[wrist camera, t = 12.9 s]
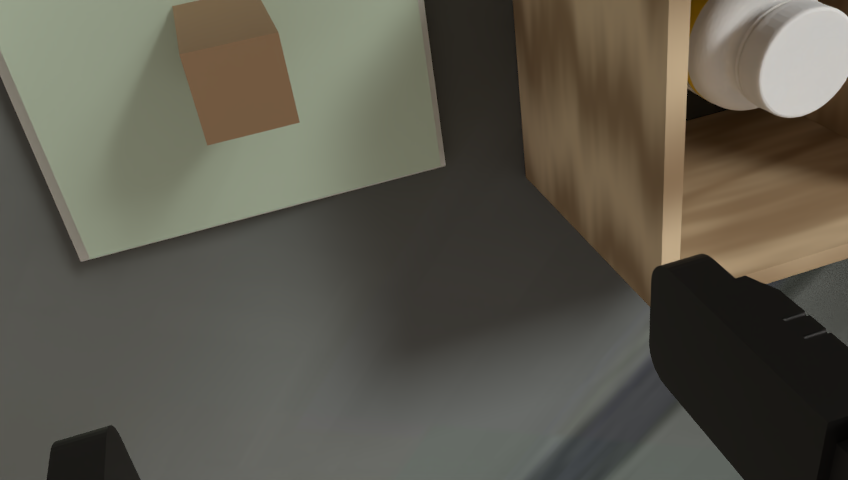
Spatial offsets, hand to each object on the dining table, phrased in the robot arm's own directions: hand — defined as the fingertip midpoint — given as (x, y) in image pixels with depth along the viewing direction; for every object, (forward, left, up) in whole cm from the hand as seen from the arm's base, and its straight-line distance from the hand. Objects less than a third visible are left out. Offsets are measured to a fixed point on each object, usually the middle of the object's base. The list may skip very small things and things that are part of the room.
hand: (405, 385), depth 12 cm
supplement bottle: (+4, +18, -23) cm, 30 cm away
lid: (+1, -1, -23) cm, 23 cm away
